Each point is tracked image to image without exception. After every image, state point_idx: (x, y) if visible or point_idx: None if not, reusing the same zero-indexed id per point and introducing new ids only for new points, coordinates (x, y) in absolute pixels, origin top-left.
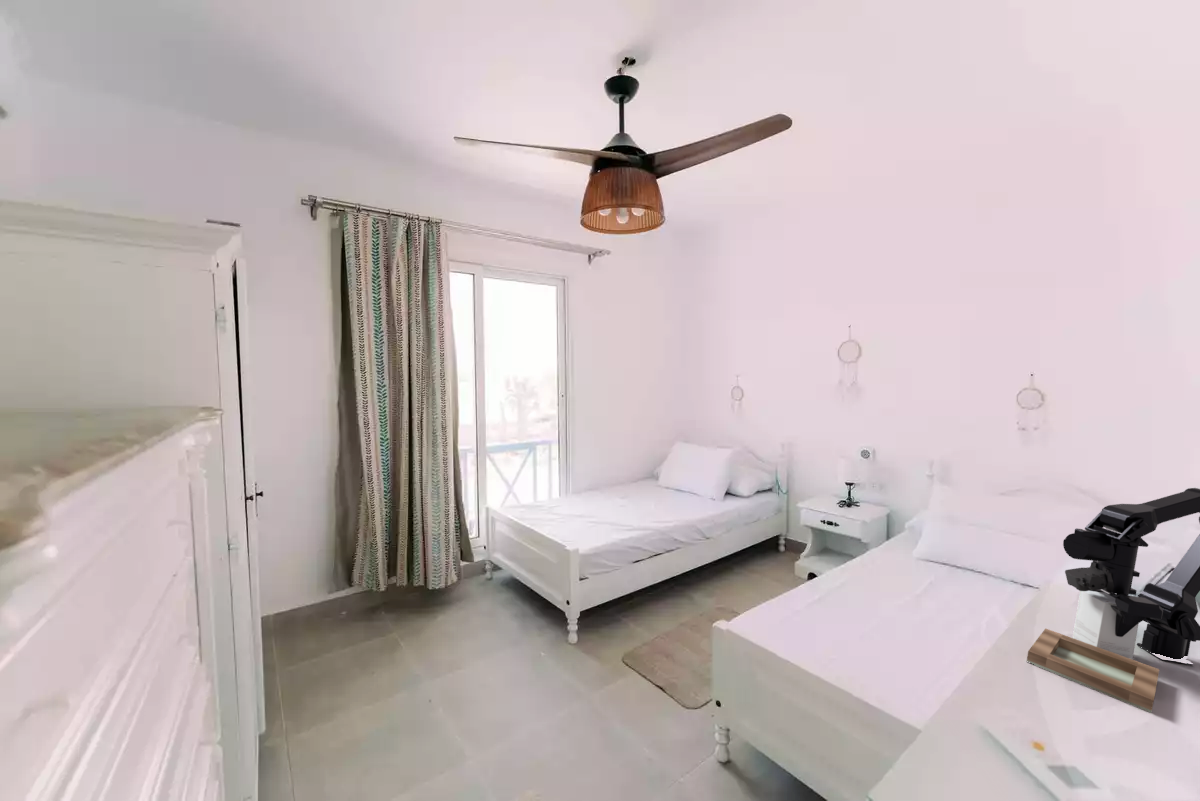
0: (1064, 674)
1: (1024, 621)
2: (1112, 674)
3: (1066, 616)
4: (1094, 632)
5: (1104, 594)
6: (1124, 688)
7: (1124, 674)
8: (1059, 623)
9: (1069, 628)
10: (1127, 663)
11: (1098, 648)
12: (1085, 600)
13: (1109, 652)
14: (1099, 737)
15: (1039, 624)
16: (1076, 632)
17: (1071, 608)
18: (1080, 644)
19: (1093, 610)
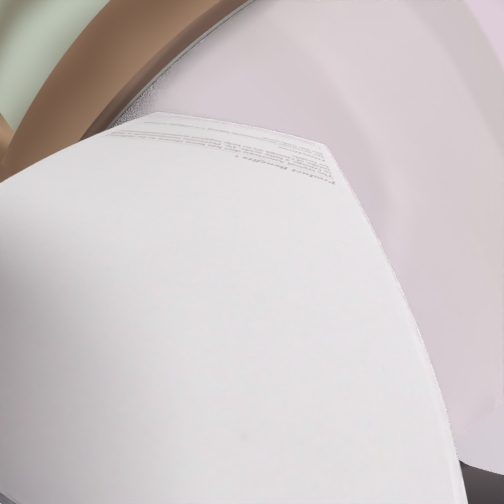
0: None
1: (491, 64)
2: (12, 52)
3: (480, 337)
4: (128, 138)
5: None
6: None
7: (21, 105)
8: (464, 255)
9: (426, 259)
10: (13, 140)
11: (93, 95)
12: (242, 361)
13: (69, 129)
14: None
15: (471, 122)
16: (304, 147)
17: (489, 385)
18: (119, 12)
19: (50, 226)
